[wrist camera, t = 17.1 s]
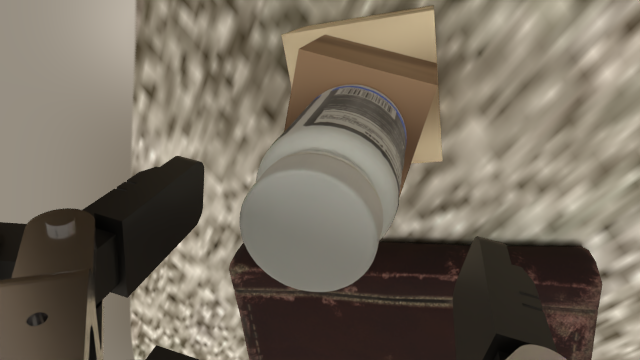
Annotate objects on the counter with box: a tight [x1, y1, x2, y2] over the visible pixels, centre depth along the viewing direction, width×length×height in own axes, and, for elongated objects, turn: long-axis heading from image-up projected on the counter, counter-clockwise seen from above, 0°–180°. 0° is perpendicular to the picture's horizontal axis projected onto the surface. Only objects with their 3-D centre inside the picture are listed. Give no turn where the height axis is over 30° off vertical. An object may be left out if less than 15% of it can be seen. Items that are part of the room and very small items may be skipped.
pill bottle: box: [240, 84, 407, 292], centre depth 15 cm, size 5×5×8 cm
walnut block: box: [284, 35, 438, 197], centre depth 21 cm, size 6×6×5 cm
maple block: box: [282, 5, 442, 163], centre depth 25 cm, size 8×8×5 cm
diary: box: [229, 242, 602, 360], centre depth 34 cm, size 19×25×5 cm
